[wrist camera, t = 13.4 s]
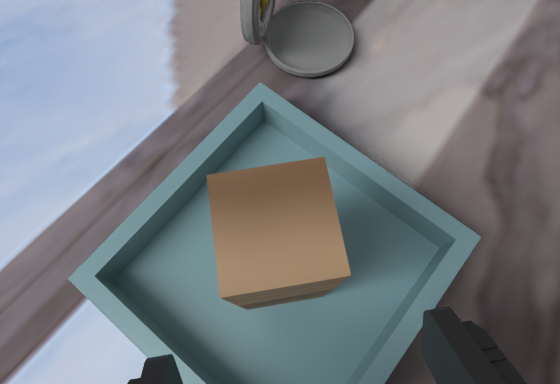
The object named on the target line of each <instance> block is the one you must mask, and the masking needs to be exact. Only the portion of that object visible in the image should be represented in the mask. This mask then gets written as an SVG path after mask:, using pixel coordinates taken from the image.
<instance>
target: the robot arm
mask: <svg viewBox="0 0 560 384" xmlns="http://www.w3.org/2000/svg"><path fill="white" fill-rule="evenodd" d="M422 350H423V354H424V358H425V361H426V363H427V365H428V367H429V369H430V371H431V373H432V374H433V376H434V378H435V380H436V382H437V384H527V383H526V382H525V381H524V380H523V378H522V377H521V376H520V374H519V373H518V372H517V371H516V369H515V368H514V367H513V365H512V364H511V363H510V362H508V360H507V358H506V356H505V355H504V354H503V353H502V351H501V350H500V349H498V346H497V345H496V344H495V342H494V341H493V340H492V338H491V337H490V336H489V335H488V333H487V332H486V331H484V330H483V329H482V328H480V327H479V326H477V325H476V324H474V323H473V322H472V321H465V322H461V321H460V319H459V318H458V317H457V315H456V314H455V313H454V311H453V310H452V309H451V308H450V307H448V306H447V307H441V308H436V309H430V310H425V311H424V313H423V329H422ZM128 384H183V381H182V378H181V376H180V373H179V370H178V367H177V364H176V361H175V359H174V356H173V355H172V354H168V355H162V356H156V357H151V358H147V359H146V361H145V363H144V367H143V371H142V375H141V378H137V379H131V380H130V381H129V382H128Z"/></svg>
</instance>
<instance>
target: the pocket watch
mask: <svg viewBox="0 0 560 384" xmlns="http://www.w3.org/2000/svg"><path fill="white" fill-rule="evenodd" d="M274 6H275V0H240V15H241V29H242V34H243V37H244V39H245V40H246V41H247V42H250V43H251V44H255V45H259V44H260V43H261V42H262V41H263V40H265V46H266V50H267V53H268V55H269V56H270V58H271V59H272V61H273V62H274V63H275V64H276V65H277V66H278V67H280V68H281V69H283V70H284V71H286V72H288V73H290V74H293V75H297V76H301V77H316V76H323V75H325V74H328V73H331V72H333V71H335V70H336V69H338V68H339V67H340V66H342V65H343V64H344V63H345V61H346V60H347V59H348V58H349V55H350V53H351V51H352V48H353V45H354V32H353V28H352V26H351V23H350V21H349V20H348V19H347V18H346V16H345V15H344V14H343V13H341V12H340V11H339V10H337V9H336V8H334V7H333V6H331V5H328V4H326V3H321V2H317V1H301V2H296V3H292V4H289V5H287V6H285V7H283V8H282V9H280V10H279V11H278V12H277V13H275V14H274V15H273V11H274Z"/></svg>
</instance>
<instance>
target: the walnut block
mask: <svg viewBox="0 0 560 384" xmlns="http://www.w3.org/2000/svg"><path fill="white" fill-rule="evenodd" d="M207 184H208V194H209V203H210V212H211V221H212V230H213V239H214V249H215V258H216V267H217V276H218V285H219V294H220V298H221V299H223V300H226V301H228V302H230V303H232V304H235V305H237V306H239V307H242V308H244V309H246V310H250V309H256V308H262V307H268V306H273V305H279V304H285V303H291V302H297V301H302V300H308V299H314V298H320V297H324V296H325V295H326V294H328V293H329V292H330V291H332V290H333V289H334V288H336V287H337V286H338V285H340V284H341V283H342V282H343V281H345V280H346V279H347V278H349V277H350V276H351V272H350V268H349V263H348V259H347V254H346V250H345V245H344V241H343V236H342V232H341V227H340V223H339V218H338V214H337V209H336V205H335V200H334V196H333V192H332V187H331V183H330V178H329V174H328V169H327V165H326V160H325V157H319V158H312V159H306V160H299V161H293V162H287V163H280V164H274V165H267V166H261V167H255V168H248V169H242V170H235V171H229V172H222V173H216V174H210V175H207Z"/></svg>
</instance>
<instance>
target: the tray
mask: <svg viewBox="0 0 560 384" xmlns="http://www.w3.org/2000/svg"><path fill="white" fill-rule="evenodd" d="M319 157H325V160H326V165H327V169H328V174H329V178H330V183H331V187H332V192H333V196H334V200H335V205H336V209H337V214H338V218H339V223H340V227H341V232H342V236H343V241H344V245H345V250H346V254H347V259H348V263H349V268H350V272H351V276H350V277H349V278H347V279H346V280H345V281H343V282H342V283H341V284H340V285H338V286H337V287H336V288H334V289H333V290H332V291H330V292H329V293H328V294H326V295H325V296H324V297H320V298H314V299H308V300H302V301H297V302H291V303H285V304H279V305H273V306H268V307H262V308H256V309H250V310H246V309H244V308H242V307H239V306H237V305H235V304H232V303H230V302H228V301H226V300H223V299H221V298H220V294H219V285H218V276H217V267H216V258H215V249H214V239H213V230H212V221H211V212H210V203H209V194H208V184H207V175H210V174H216V173H222V172H229V171H235V170H242V169H248V168H255V167H261V166H267V165H274V164H280V163H287V162H293V161H299V160H306V159H312V158H319ZM480 238H481V236H479V235H478V234H476V233H475V232H474V231H472V230H471V229H469V228H468V227H466V226H465V225H464V224H462V223H461V222H459V221H458V220H456V219H455V218H454V217H452V216H451V215H449V214H448V213H446V212H445V211H444V210H442V209H441V208H439V207H438V206H436V205H435V204H434V203H432V202H431V201H429V200H428V199H426V198H425V197H424V196H422V195H421V194H419V193H418V192H416V191H415V190H414V189H412V188H411V187H409V186H408V185H406V184H405V183H404V182H402V181H401V180H399V179H398V178H396V177H395V176H394V175H392V174H391V173H389V172H388V171H386V170H385V169H384V168H382V167H381V166H379V165H378V164H376V163H375V162H374V161H372V160H371V159H369V158H368V157H366V156H365V155H364V154H362V153H361V152H359V151H358V150H356V149H355V148H354V147H352V146H351V145H349V144H348V143H346V142H345V141H343V140H342V139H341V138H339V137H338V136H336V135H335V134H333V133H332V132H331V131H329V130H328V129H326V128H325V127H323V126H322V125H321V124H319V123H318V122H316V121H315V120H313V119H312V118H311V117H309V116H308V115H306V114H305V113H303V112H302V111H301V110H299V109H298V108H296V107H295V106H293V105H292V104H291V103H289V102H288V101H286V100H285V99H283V98H282V97H281V96H279V95H278V94H276V93H275V92H273V91H272V90H271V89H269V88H268V87H266V86H265V85H263V84H262V83H261V82H260V83H259V84H258V85H257V86H256V87H255V88H254V89H253V90H252V91H251V92H250V93H249V94H248V95H247V96H246V97H245V98H244V99H243V100H242V101H241V102H240V103H239V104H238V105H237V106H236V107H235V108H234V109H233V111H232V112H231V113H230V114H229V115H228V116H227V117H226V118H225V119H224V120H223V121H222V122H221V123H220V124H219V125H218V126H217V127H216V128H215V129H214V130H213V131H212V132H211V133H210V134H209V135H208V136H207V137H206V138H205V139H204V140H203V141H202V142H201V143H200V144H199V145H198V146H197V147H196V148H195V149H194V150H193V151H192V152H191V153H190V154H189V155H188V156H187V157H186V159H185V160H184V161H183V162H182V163H181V164H180V165H179V166H178V167H177V168H176V169H175V170H174V171H173V172H172V173H171V174H170V175H169V176H168V177H167V178H166V179H165V180H164V181H163V182H162V183H161V184H160V185H159V186H158V187H157V188H156V189H155V190H154V191H153V192H152V193H151V194H150V195H149V196H148V197H147V198H146V199H145V200H144V201H143V202H142V203H141V204H140V206H139V207H138V208H137V209H136V210H135V211H134V212H133V213H132V214H131V215H130V216H129V217H128V218H127V219H126V220H125V221H124V222H123V223H122V224H121V225H120V226H119V227H118V228H117V229H116V230H115V231H114V232H113V233H112V234H111V235H110V236H109V237H108V238H107V239H106V240H105V241H104V242H103V243H102V244H101V245H100V246H99V247H98V248H97V249H96V250H95V251H94V252H93V254H92V255H91V256H90V257H89V258H88V259H87V260H86V261H85V262H84V263H83V264H82V265H81V266H80V267H79V268H78V269H77V270H76V271H75V272H74V273H73V274H72V275H71V276H70V277H69V278H68V279H69V280H70V281H71V282H72V283H73V284H74V285H75V286H76V287H77V288H78V289H79V290H80V291H81V292H82V293H83V294H84V295H85V296H86V297H87V298H88V299H89V300H90V301H91V302H92V303H93V304H94V305H95V306H96V307H97V308H98V309H99V310H100V311H101V312H102V313H103V314H104V315H105V316H106V317H107V318H108V319H109V320H110V321H111V322H112V323H113V324H114V325H115V326H116V327H117V328H118V329H119V330H120V331H121V332H122V333H123V334H124V335H125V336H126V337H127V338H128V339H129V340H130V341H131V342H132V343H133V344H134V345H135V346H136V347H137V348H139V349H140V350H141V351H142V352H143V353H144V354H145V355H146V356H147V357H148V358H151V357H156V356H162V355H168V354H172V355H173V356H174V359H175V361H176V364H177V367H178V370H179V373H180V376H181V378H182V381H183V384H385V382H386V381H387V379H388V378H389V376H390V375H391V373H392V372H393V370H394V369H395V367H396V366H397V364H398V362H399V361H400V359H401V358H402V356H403V355H404V353H405V352H406V350H407V349H408V347H409V346H410V344H411V343H412V341H413V340H414V338H415V337H416V335H417V334H418V332H419V331H420V329H421V328H422V326H423V313H424V311H425V310H430V309H434V308H435V306H436V305H437V303H438V302H439V300H440V299H441V297H442V296H443V294H444V293H445V291H446V290H447V288H448V287H449V285H450V284H451V282H452V281H453V279H454V278H455V276H456V275H457V273H458V272H459V270H460V269H461V267H462V266H463V264H464V262H465V261H466V259H467V258H468V256H469V255H470V253H471V252H472V250H473V249H474V247H475V246H476V244H477V243H478V241H479V240H480Z"/></svg>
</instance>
